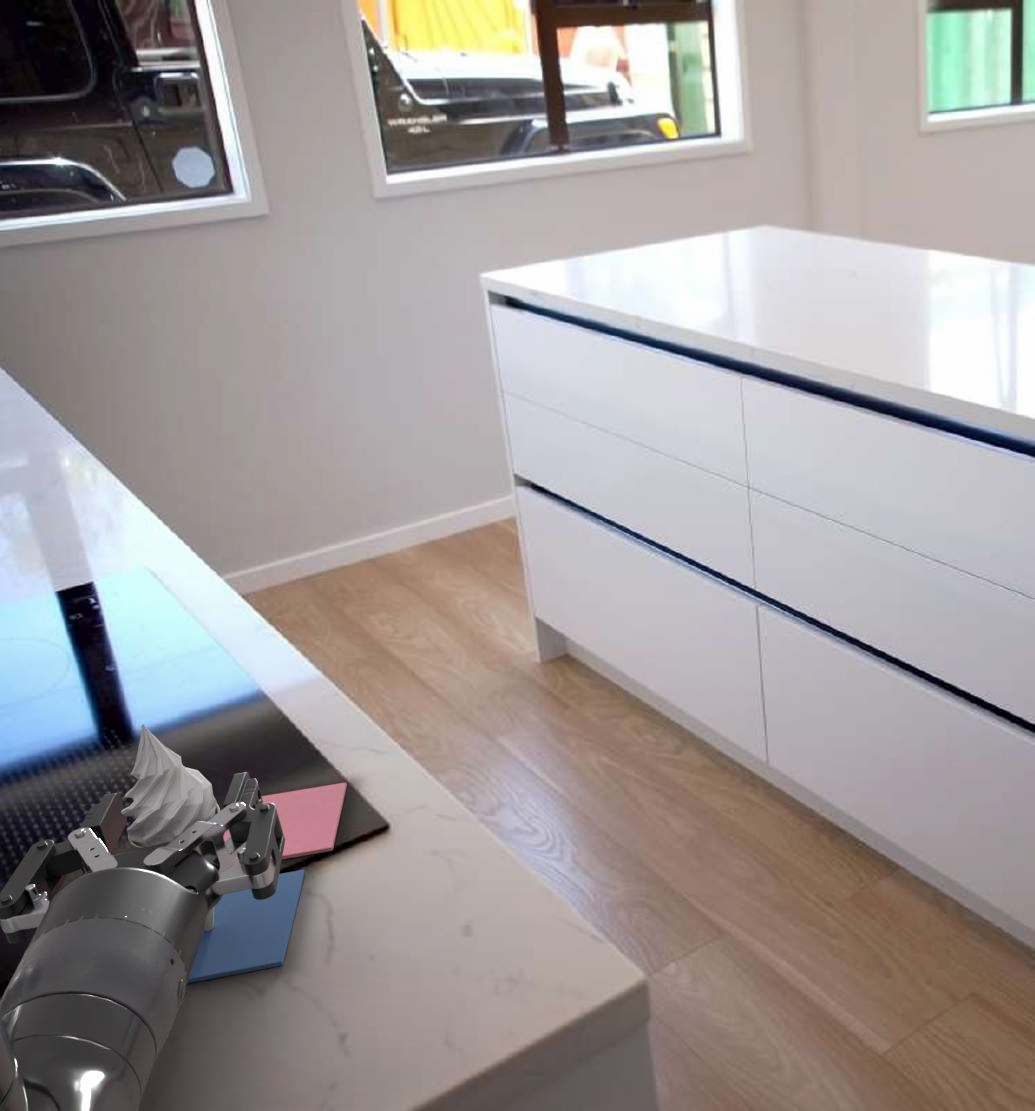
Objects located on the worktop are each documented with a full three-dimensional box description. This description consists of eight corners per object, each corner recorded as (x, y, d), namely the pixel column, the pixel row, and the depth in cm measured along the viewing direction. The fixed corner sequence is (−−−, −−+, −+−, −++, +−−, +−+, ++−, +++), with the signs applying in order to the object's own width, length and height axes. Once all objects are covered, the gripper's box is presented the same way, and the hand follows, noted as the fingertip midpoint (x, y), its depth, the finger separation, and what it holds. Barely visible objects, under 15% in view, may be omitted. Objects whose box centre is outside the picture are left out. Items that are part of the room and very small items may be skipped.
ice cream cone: (185, 969, 76) (112, 758, 69) (151, 932, 79) (79, 727, 73) (266, 924, 79) (204, 719, 73) (231, 891, 82) (168, 691, 76)
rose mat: (207, 872, 84) (206, 869, 84) (231, 804, 92) (231, 801, 91) (332, 850, 86) (331, 847, 86) (347, 785, 93) (346, 782, 93)
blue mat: (103, 999, 74) (101, 995, 74) (143, 901, 82) (142, 898, 82) (282, 965, 76) (281, 961, 76) (305, 873, 84) (304, 869, 84)
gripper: (236, 895, 62) (290, 723, 77) (-86, 953, 60) (34, 763, 74) (272, 1011, 65) (318, 824, 80) (-32, 1070, 63) (73, 866, 78)
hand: (181, 795), depth 77 cm, fingers open, 7 cm apart
